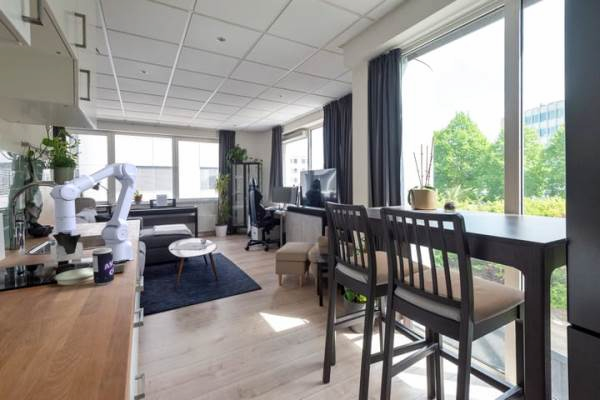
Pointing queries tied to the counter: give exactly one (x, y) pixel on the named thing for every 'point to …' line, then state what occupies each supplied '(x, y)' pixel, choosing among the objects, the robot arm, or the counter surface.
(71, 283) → the stand
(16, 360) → the counter surface
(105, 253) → the beverage can
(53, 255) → the housing
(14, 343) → the counter surface
